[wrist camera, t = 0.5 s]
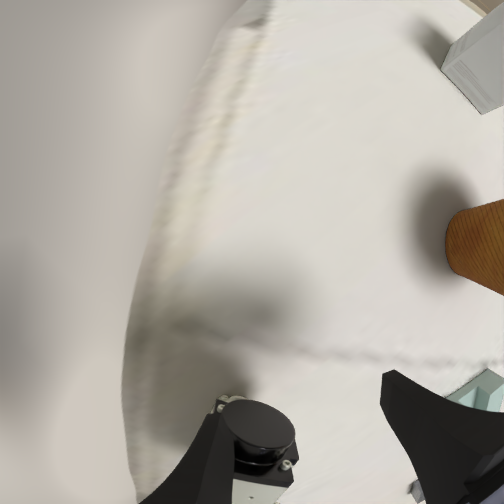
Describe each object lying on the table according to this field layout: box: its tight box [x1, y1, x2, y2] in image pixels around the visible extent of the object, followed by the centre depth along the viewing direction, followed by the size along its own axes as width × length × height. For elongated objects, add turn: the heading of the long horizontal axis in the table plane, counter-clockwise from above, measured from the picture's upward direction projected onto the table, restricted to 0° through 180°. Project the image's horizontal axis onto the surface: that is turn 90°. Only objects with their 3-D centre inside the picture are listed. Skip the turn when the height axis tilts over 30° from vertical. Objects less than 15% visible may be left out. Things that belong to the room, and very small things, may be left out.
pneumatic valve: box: [210, 395, 299, 504], centre depth 15 cm, size 6×12×12 cm, turn 159°
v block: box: [446, 369, 504, 412], centre depth 20 cm, size 7×10×4 cm
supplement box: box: [441, 2, 504, 114], centre depth 13 cm, size 7×7×13 cm
